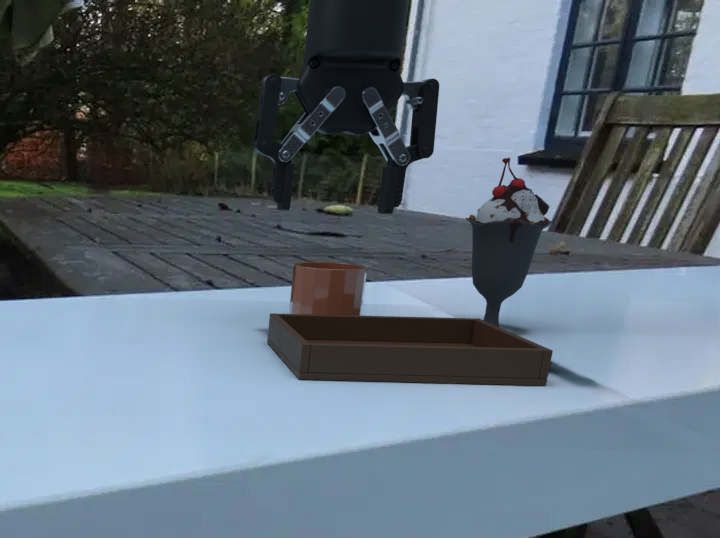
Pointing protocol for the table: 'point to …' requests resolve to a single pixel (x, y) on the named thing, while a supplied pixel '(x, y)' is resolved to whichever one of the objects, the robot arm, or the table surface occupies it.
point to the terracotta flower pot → (327, 288)
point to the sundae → (505, 241)
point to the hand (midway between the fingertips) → (334, 212)
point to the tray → (406, 350)
